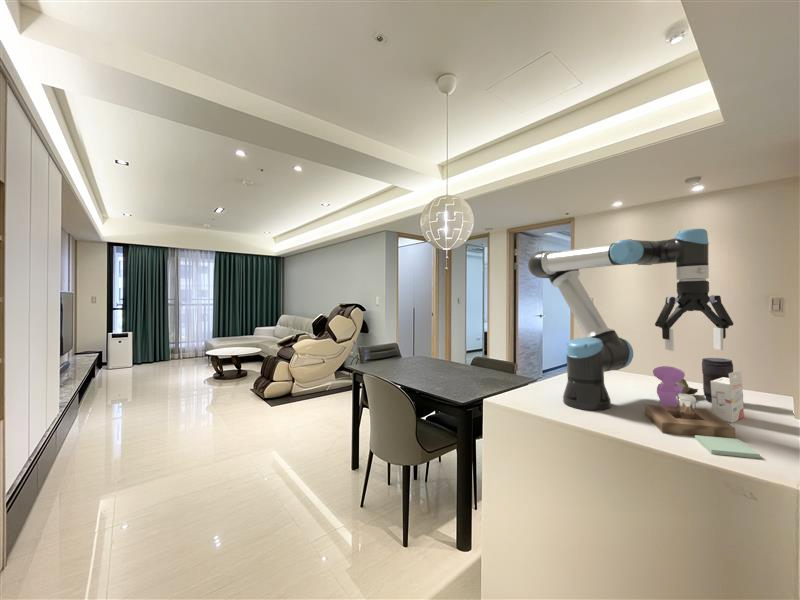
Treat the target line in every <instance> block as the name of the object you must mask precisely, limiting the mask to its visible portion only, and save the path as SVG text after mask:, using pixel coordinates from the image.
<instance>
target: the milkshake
mask: <svg viewBox="0 0 800 600" xmlns="http://www.w3.org/2000/svg"><path fill="white" fill-rule="evenodd" d="M675 393H676V395H677V396H676V401H677V407H678V415H679V418H680V419H693V420H694V417H695V408H696V402H697V399H696V397H695V396H694V395H693V394H692V395H688V394H681V393H680V394H677V392H675Z"/></svg>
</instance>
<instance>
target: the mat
mask: <svg viewBox="0 0 800 600" xmlns="http://www.w3.org/2000/svg"><path fill="white" fill-rule="evenodd" d="M694 440H696V441H697V442H698V443H699V444H700V445H701V446H703V448H704V449H705V450H707V451H708V452H709V453H710V454H711V455H720V456H721V455H722V456H729V457H739V458H750V459H751V458H752V459H761V455H760V453H759V452H757V451H756V450H754V449H753V448H752V447H750V446H748V445H747V444H746V443H744V442H743V441H742V440H740V439H739V438H735V439H732V438H721V437H709V436H698V435H695V436H694Z"/></svg>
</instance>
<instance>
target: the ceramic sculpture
mask: <svg viewBox="0 0 800 600" xmlns="http://www.w3.org/2000/svg"><path fill="white" fill-rule="evenodd" d="M659 384H663V382H662V381H660V383H659ZM674 386H682V390H683V391H682V394H688V395H692V396H693V395H695V394H696V393H698V392H699V388H693V387H690V386H689V384H688V383H687V380H686V379H685V378H683V379H682V380H680V381H679V382H676V383H675V385H674Z"/></svg>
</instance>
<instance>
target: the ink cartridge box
mask: <svg viewBox="0 0 800 600" xmlns="http://www.w3.org/2000/svg"><path fill="white" fill-rule="evenodd" d="M735 376H736V377H735ZM710 382H711V397H712V403H711V410H712V411H711V412H712V413H713V414H715V415H716V416H718V417H719V418H721V419H722V420H724V421H725V422H727V423H730V424H731V423H732V424H734V423H735V422H737V421H739V420H741V419H743V418H744V415H745V413H744V412H745V409H744V389H743V388H744V386H743V385H744V384H743V377H742V370H735V371H733V372H732V373H729V378H725V377H722V378H719V379H716V380H713V381H710Z"/></svg>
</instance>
